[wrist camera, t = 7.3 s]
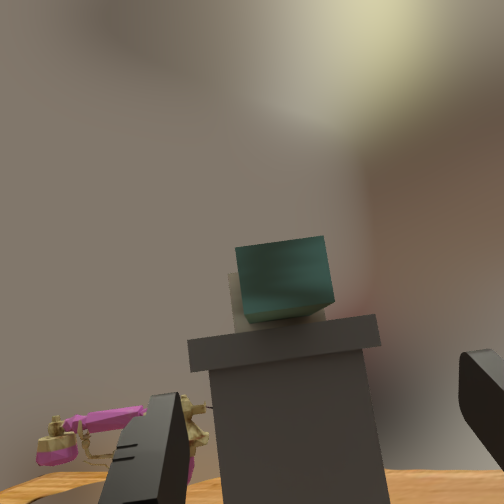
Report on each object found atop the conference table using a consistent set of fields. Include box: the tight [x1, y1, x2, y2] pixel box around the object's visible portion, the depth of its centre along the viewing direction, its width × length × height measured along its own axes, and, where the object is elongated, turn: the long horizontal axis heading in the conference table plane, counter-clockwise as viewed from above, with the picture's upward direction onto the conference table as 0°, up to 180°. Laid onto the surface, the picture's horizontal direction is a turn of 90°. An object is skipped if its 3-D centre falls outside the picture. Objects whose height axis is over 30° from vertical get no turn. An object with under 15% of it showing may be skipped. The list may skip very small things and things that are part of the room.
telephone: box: [36, 395, 213, 485], centre depth 67 cm, size 36×22×25 cm, turn 83°
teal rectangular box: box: [228, 236, 335, 333], centre depth 30 cm, size 6×22×4 cm, turn 179°
